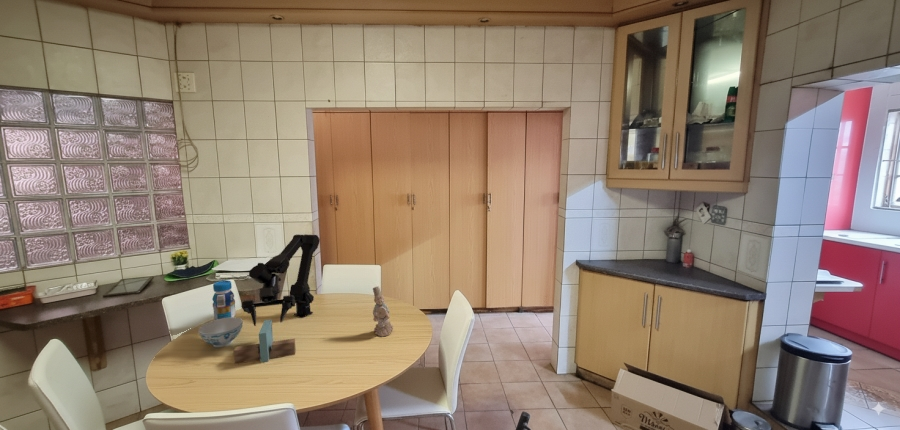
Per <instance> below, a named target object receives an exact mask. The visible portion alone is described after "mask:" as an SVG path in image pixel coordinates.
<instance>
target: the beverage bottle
mask: <svg viewBox="0 0 900 430" xmlns="http://www.w3.org/2000/svg"><path fill="white" fill-rule="evenodd" d="M212 285H213V287H212V289H213V292H214V294H213V296H212V301H213V303H212V308H213V309H212V310H213V317H214V320H217V319H222V318H229V317H236V318H237V316H236V300H235V294H234V292H233V291H232V286H233V285H232V281H231V280H220V281H217V282H214V283H213V284H212Z"/></svg>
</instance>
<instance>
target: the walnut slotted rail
mask: <svg viewBox="0 0 900 430" xmlns="http://www.w3.org/2000/svg"><path fill="white" fill-rule="evenodd" d="M296 352H297V351H296V339H295V338H290V339H282V340H281V339H280V340H273V342H272V345H271V348H270V349H269V359H274V358H279V357H281V358H282V357H287V356H288V357H289V356H294V355H296ZM233 358H234V364H241V363H249V362H255V361H261V357H260V344H259V343H253V344H252V343H251V344H245V345H239V346H235V348H234V349H233Z"/></svg>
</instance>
